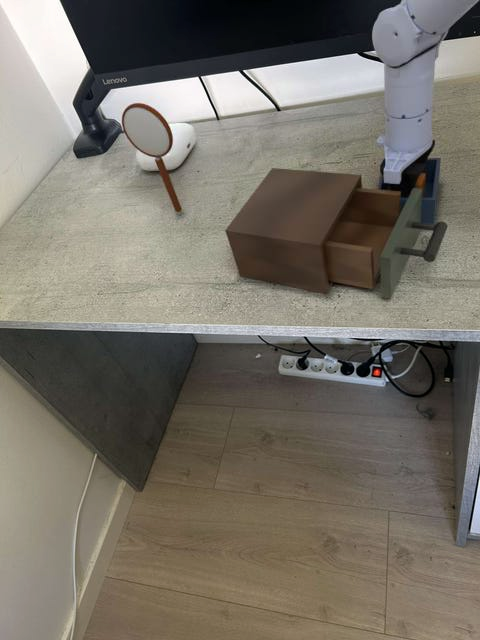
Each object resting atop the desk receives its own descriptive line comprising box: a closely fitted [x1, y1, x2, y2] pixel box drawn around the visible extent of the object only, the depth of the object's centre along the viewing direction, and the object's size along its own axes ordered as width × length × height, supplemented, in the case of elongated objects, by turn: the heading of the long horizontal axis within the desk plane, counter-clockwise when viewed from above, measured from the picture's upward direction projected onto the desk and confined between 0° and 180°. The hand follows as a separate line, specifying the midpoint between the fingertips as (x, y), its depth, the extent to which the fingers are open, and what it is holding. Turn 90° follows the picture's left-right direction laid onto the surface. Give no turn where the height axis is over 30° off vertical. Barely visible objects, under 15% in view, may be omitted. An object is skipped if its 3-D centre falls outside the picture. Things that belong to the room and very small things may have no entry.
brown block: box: [389, 173, 426, 198], centre depth 70 cm, size 4×3×4 cm, turn 62°
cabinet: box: [225, 167, 363, 295], centre depth 68 cm, size 14×15×9 cm
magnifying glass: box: [121, 102, 183, 216], centre depth 78 cm, size 9×2×20 cm, turn 65°
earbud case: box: [135, 122, 197, 172], centre depth 98 cm, size 10×13×5 cm
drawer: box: [323, 187, 449, 299], centre depth 63 cm, size 17×13×7 cm
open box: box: [376, 157, 442, 224], centre depth 71 cm, size 10×8×4 cm
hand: (407, 197), depth 71 cm, fingers closed on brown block, 3 cm apart
